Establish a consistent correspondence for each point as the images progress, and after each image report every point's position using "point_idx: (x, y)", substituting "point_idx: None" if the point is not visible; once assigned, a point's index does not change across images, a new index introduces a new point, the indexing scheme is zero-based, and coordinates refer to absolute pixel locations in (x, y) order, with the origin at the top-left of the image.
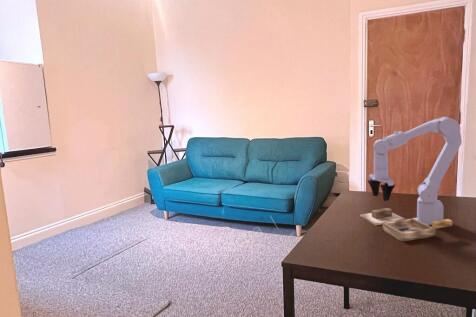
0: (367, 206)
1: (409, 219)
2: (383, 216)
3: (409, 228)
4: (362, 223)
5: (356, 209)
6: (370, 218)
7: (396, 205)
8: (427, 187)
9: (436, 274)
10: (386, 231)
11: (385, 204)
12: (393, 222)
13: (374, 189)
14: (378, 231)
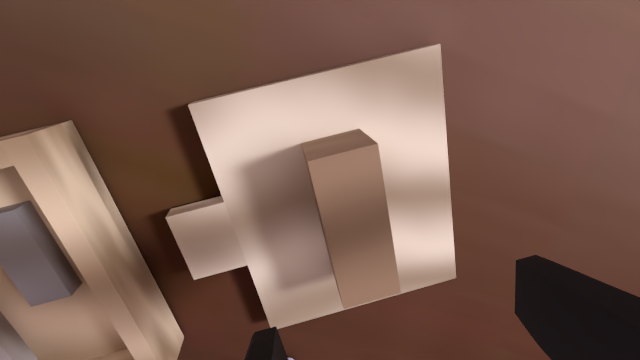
0: (610, 182)
1: (141, 356)
2: (318, 214)
3: (74, 305)
4: (260, 2)
5: (595, 77)
6: (316, 102)
7: None
8: None
9: None
10: (10, 135)
11: None
12: (57, 234)
13: (625, 357)
14: (50, 78)
